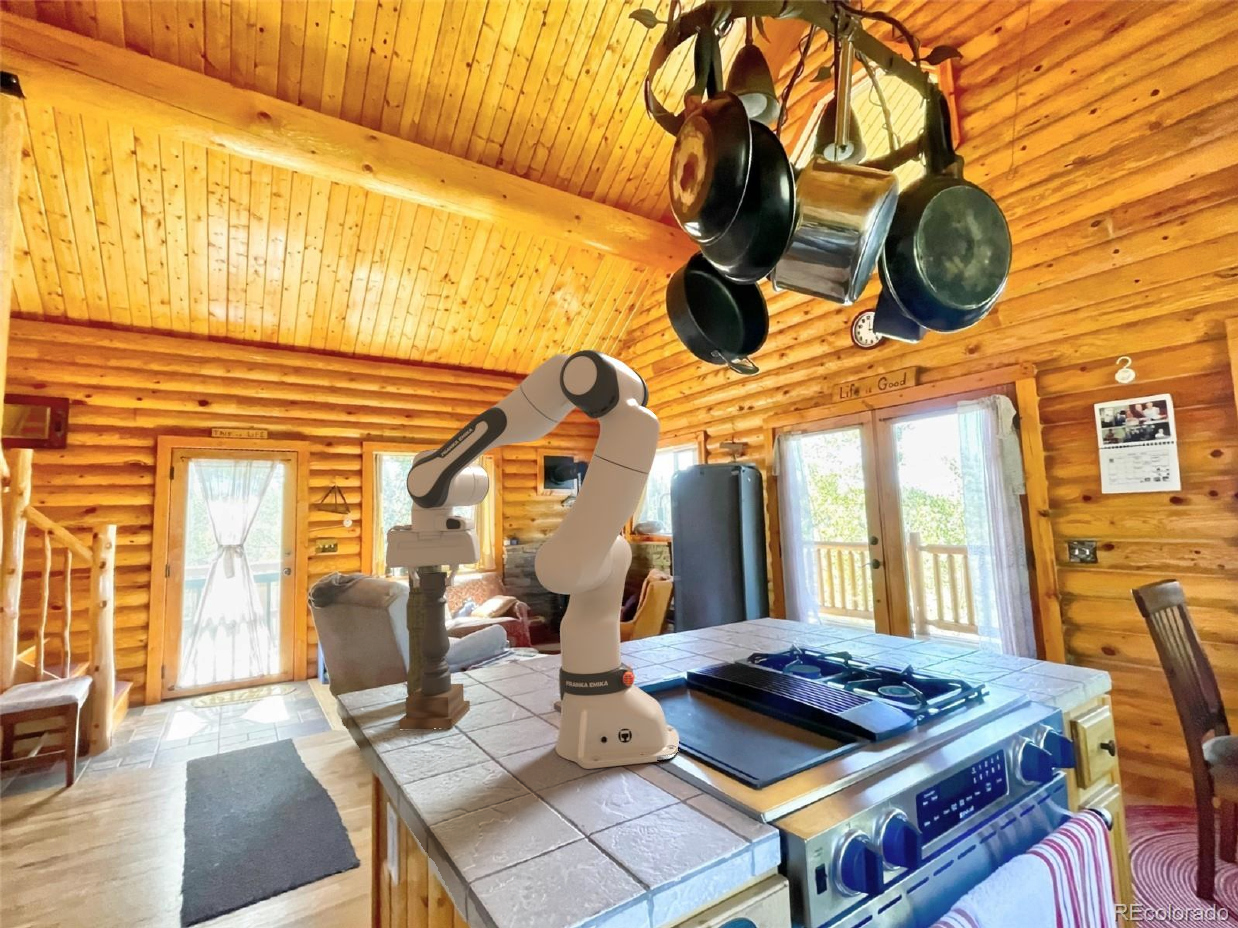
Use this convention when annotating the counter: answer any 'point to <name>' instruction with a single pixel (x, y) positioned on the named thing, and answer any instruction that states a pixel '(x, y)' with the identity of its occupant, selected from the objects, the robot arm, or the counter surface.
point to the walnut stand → (435, 709)
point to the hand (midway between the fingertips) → (433, 586)
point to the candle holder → (434, 635)
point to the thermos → (416, 630)
